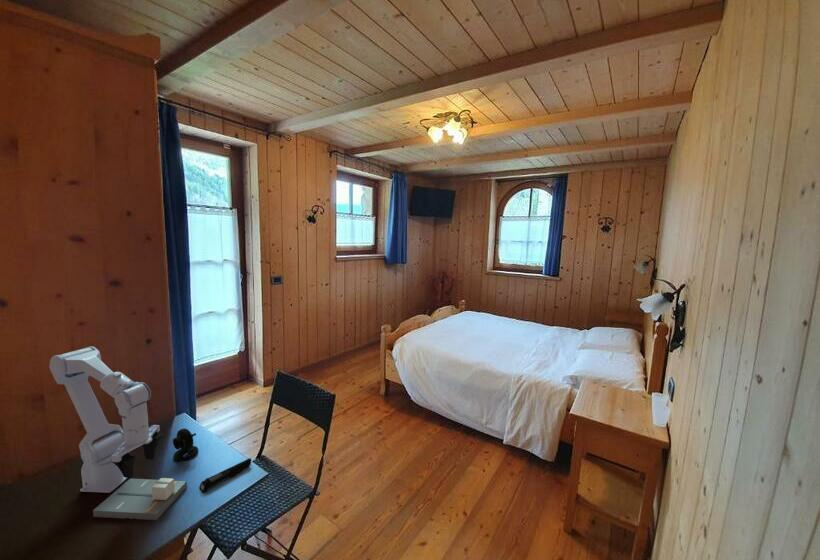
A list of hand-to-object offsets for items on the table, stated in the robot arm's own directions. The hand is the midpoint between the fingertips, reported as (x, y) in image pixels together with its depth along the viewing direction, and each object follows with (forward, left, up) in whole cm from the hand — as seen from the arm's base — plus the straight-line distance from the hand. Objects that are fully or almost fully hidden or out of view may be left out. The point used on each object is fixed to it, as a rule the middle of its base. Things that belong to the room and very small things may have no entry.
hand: (139, 467), depth 97 cm
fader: (+8, -2, -7) cm, 11 cm away
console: (+2, -2, -9) cm, 10 cm away
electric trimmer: (+21, +9, -10) cm, 25 cm away
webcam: (+1, +18, -10) cm, 21 cm away
